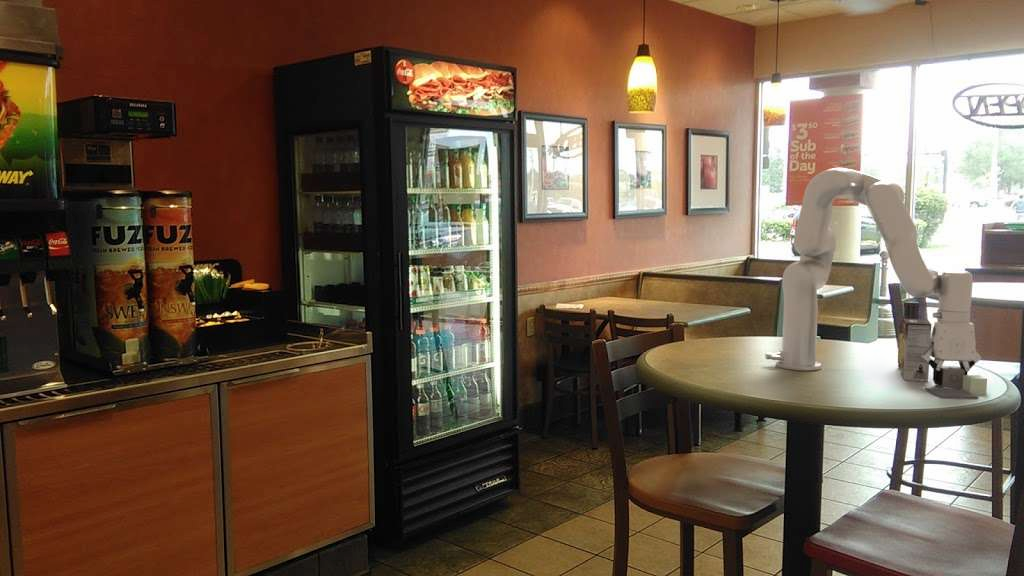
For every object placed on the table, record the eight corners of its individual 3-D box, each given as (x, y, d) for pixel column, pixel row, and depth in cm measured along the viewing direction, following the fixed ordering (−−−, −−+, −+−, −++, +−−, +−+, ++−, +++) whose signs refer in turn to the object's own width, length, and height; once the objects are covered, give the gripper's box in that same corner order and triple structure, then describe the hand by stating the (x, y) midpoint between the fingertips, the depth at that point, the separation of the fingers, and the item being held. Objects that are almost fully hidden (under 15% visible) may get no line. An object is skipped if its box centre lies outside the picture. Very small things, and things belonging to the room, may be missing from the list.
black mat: (941, 398, 199) (941, 396, 199) (924, 389, 208) (924, 388, 208) (978, 398, 199) (978, 396, 198) (960, 390, 207) (960, 388, 207)
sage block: (970, 393, 204) (971, 378, 204) (962, 390, 208) (963, 375, 208) (986, 394, 204) (987, 378, 204) (978, 390, 208) (979, 375, 208)
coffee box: (899, 373, 229) (902, 318, 227) (924, 375, 226) (927, 319, 225) (903, 380, 220) (906, 322, 218) (929, 382, 218) (932, 323, 216)
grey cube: (942, 387, 211) (944, 369, 210) (936, 383, 216) (938, 365, 215) (963, 388, 210) (964, 370, 209) (957, 384, 214) (958, 366, 214)
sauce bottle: (923, 371, 232) (927, 303, 230) (900, 370, 233) (904, 303, 231) (916, 367, 238) (920, 301, 236) (894, 366, 240) (897, 300, 238)
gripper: (926, 318, 208) (922, 387, 210) (994, 319, 207) (990, 388, 209) (914, 314, 215) (910, 381, 217) (979, 315, 214) (975, 382, 216)
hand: (949, 384), depth 213 cm, fingers closed on grey cube, 5 cm apart
